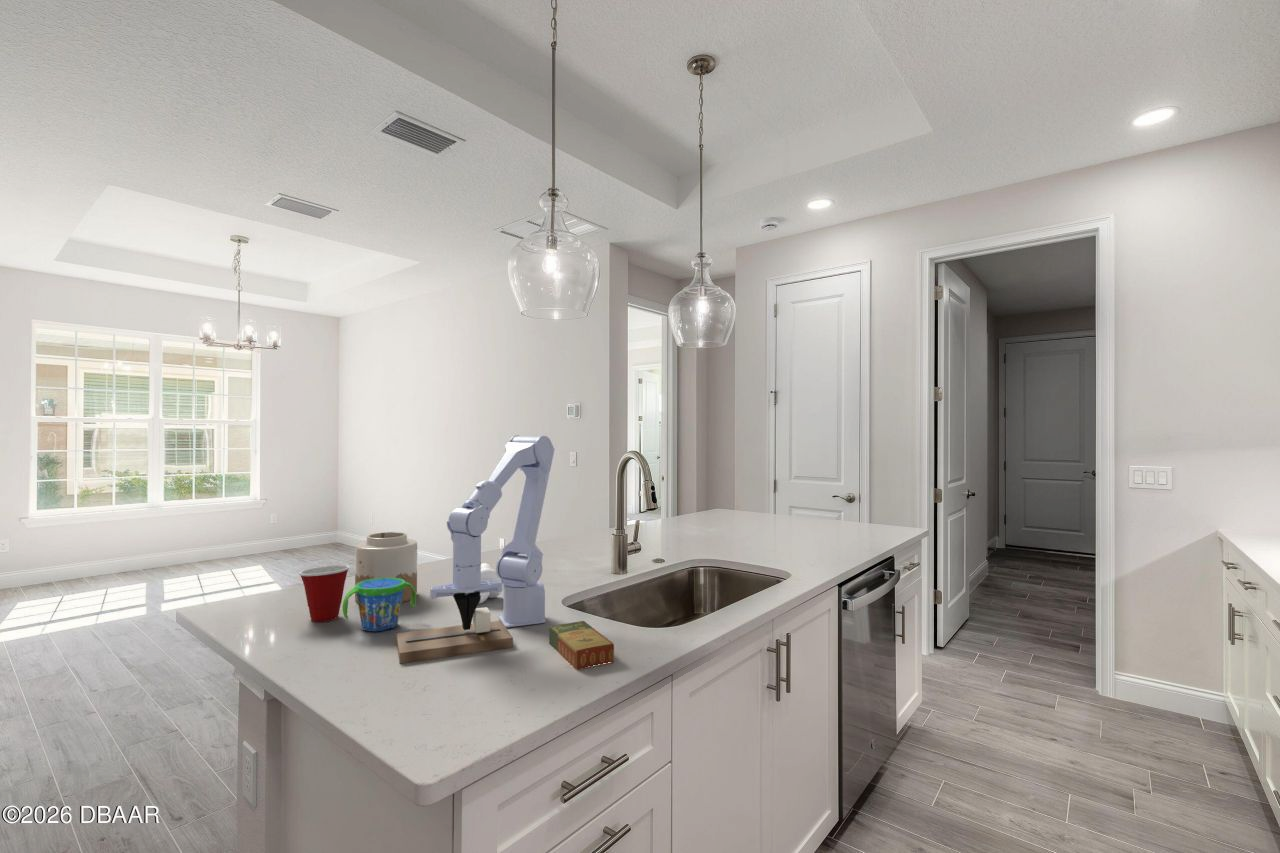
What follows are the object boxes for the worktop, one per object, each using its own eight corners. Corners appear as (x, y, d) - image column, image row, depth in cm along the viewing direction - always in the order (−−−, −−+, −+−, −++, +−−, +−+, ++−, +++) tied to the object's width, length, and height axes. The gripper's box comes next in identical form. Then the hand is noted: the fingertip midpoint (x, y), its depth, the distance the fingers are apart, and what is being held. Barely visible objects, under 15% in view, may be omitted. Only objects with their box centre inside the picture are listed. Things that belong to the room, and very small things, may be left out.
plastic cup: (334, 608, 151) (334, 560, 151) (358, 616, 145) (359, 566, 145) (289, 619, 142) (289, 569, 142) (313, 628, 136) (314, 575, 136)
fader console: (501, 629, 137) (501, 619, 137) (512, 647, 126) (512, 636, 126) (396, 642, 128) (396, 631, 128) (399, 663, 117) (399, 651, 117)
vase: (403, 606, 153) (403, 540, 153) (343, 605, 154) (344, 540, 154) (425, 590, 169) (426, 530, 169) (371, 589, 169) (371, 529, 169)
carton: (575, 672, 115) (575, 649, 115) (547, 644, 129) (547, 624, 129) (614, 664, 118) (614, 642, 118) (584, 638, 133) (584, 618, 133)
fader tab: (486, 625, 132) (486, 607, 132) (490, 631, 128) (490, 612, 128) (472, 627, 130) (472, 608, 130) (475, 633, 127) (475, 614, 127)
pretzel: (508, 593, 166) (508, 561, 166) (498, 607, 154) (498, 571, 154) (466, 593, 166) (467, 561, 166) (453, 606, 154) (454, 571, 154)
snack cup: (410, 615, 146) (410, 573, 146) (421, 627, 137) (421, 583, 137) (339, 626, 138) (339, 582, 138) (345, 640, 129) (346, 593, 129)
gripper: (432, 571, 121) (432, 639, 121) (505, 565, 127) (504, 629, 127) (429, 564, 128) (428, 628, 128) (498, 558, 134) (497, 619, 134)
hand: (466, 628), depth 128 cm, fingers closed
